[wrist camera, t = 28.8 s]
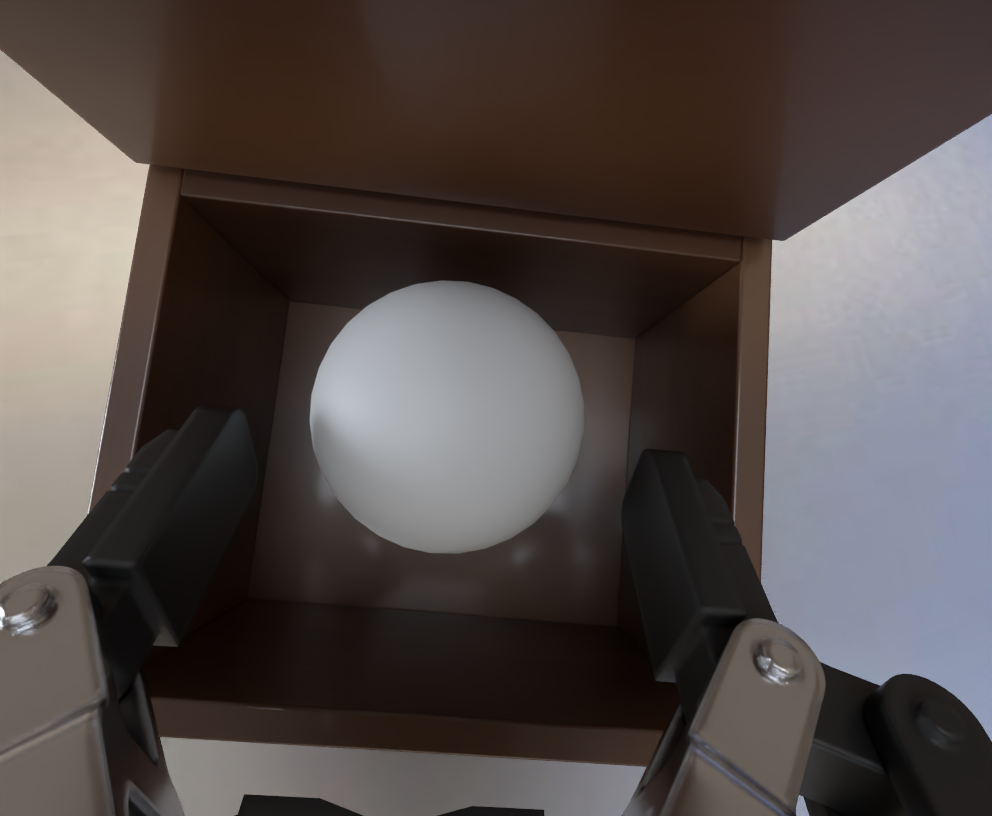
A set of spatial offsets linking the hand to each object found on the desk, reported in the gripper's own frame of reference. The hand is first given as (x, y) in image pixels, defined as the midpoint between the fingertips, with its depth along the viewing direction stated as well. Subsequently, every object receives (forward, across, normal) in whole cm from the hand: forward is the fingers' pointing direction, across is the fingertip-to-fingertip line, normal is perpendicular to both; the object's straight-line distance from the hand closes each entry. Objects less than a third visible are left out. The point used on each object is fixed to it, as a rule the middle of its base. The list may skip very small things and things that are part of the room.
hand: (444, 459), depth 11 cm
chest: (+7, 0, +7) cm, 10 cm away
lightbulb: (+7, 0, +6) cm, 9 cm away
